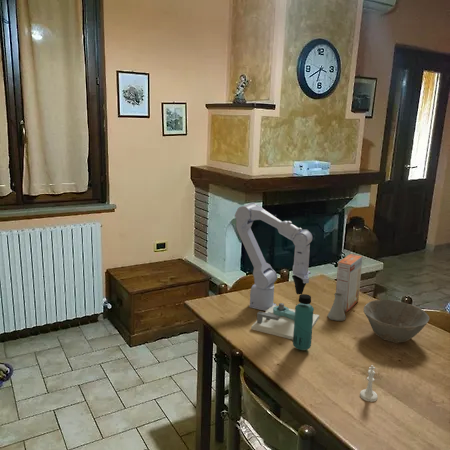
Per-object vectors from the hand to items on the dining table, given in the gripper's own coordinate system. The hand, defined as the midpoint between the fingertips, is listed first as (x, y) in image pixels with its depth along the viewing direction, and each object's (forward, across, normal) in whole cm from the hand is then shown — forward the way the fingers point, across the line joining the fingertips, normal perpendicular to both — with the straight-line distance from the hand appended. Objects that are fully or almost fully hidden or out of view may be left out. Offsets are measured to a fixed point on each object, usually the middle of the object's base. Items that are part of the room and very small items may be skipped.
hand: (299, 293), depth 176 cm
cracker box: (+10, +8, -24) cm, 27 cm away
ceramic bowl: (+10, -21, -30) cm, 38 cm away
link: (+8, -4, +4) cm, 10 cm away
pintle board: (+9, -6, +7) cm, 13 cm away
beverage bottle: (+10, -26, +7) cm, 28 cm away
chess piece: (+10, -53, -4) cm, 54 cm away
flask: (+10, -3, -15) cm, 18 cm away
